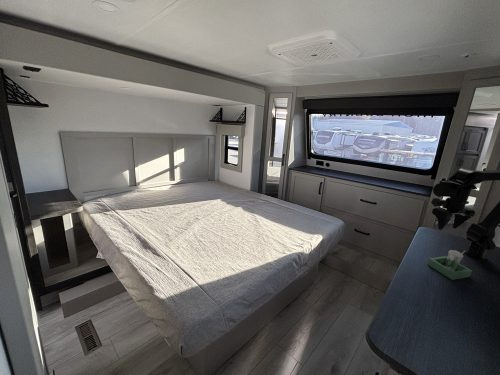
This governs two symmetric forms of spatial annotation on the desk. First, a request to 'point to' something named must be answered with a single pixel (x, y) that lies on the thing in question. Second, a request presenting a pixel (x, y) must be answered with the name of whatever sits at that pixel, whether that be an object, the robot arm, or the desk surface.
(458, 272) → the green square frame
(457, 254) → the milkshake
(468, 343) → the desk surface
